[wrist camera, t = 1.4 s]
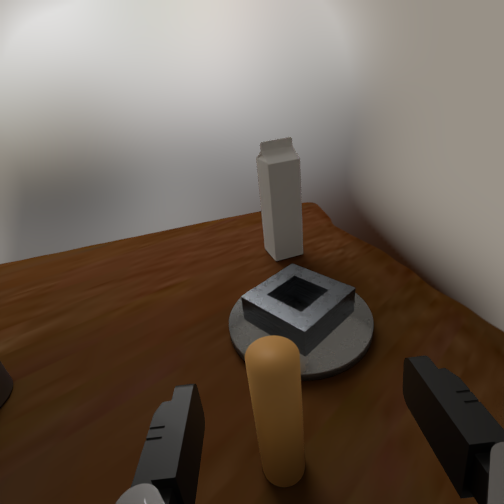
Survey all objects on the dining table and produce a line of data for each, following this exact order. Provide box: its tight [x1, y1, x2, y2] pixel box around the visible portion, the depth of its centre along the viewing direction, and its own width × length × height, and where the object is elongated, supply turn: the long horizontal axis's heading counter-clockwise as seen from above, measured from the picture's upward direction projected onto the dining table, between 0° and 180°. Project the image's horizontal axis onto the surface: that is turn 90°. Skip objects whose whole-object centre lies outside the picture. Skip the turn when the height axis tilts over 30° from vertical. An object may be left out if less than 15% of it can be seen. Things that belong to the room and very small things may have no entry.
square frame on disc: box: [229, 263, 373, 381], centre depth 45 cm, size 20×20×6 cm
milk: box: [256, 137, 303, 261], centre depth 61 cm, size 6×6×22 cm
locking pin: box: [245, 335, 305, 487], centre depth 27 cm, size 4×4×14 cm
